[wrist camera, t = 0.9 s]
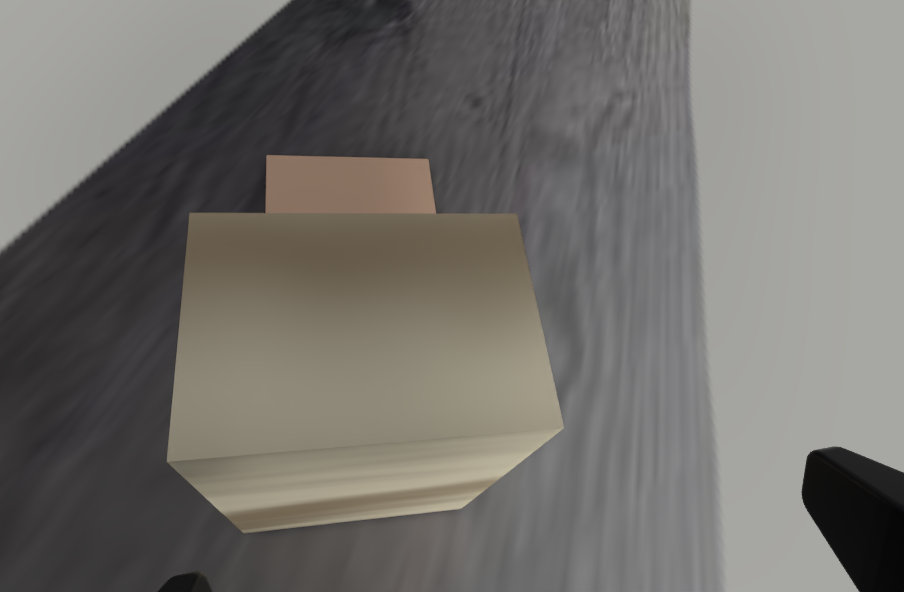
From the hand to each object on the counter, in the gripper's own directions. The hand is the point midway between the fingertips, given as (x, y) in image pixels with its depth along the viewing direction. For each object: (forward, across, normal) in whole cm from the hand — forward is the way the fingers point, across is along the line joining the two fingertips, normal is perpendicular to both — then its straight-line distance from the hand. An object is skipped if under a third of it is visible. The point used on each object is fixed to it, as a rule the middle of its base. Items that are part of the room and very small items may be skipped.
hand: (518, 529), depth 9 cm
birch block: (+10, +4, +6) cm, 13 cm away
